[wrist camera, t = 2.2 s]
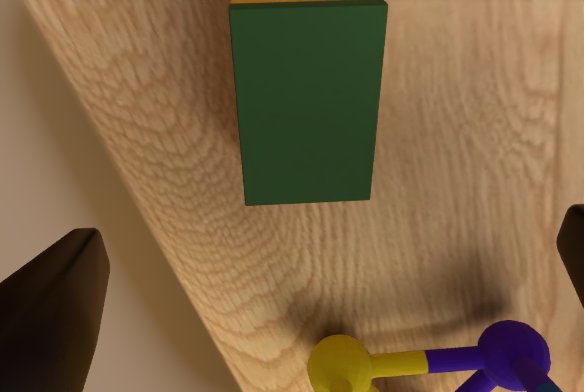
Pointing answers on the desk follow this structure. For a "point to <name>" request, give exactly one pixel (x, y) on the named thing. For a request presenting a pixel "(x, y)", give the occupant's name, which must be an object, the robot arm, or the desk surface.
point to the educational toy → (439, 362)
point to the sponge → (307, 97)
